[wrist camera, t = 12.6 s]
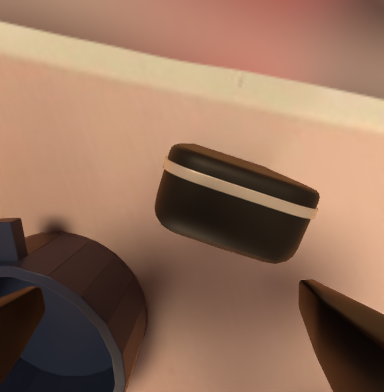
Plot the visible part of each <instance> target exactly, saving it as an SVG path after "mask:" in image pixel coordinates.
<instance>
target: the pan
mask: <svg viewBox="0 0 384 392" xmlns="http://www.w3.org/2000/svg"><path fill="white" fill-rule="evenodd" d="M36 286H37V287H40V288H41V289H42V293H43V298H44V302H45V313H44V315H43V317H42V319H41V321H40V322H39V324H38V326H37V328H36V330H35V331H34V333H33V335H32V337H31V338H30V340H29V342H28V344H27V345H26V347H25V349H24V351H23V352H22V354H21V356H20V357H19V359H18V360H17V362H16V363H15V365H14V366H13V368H12V369H11V371H10V372H9V373H8V375H7V376H6V378H5V379H4V381H3V382H2V384H1V385H0V392H126V390H127V387H128V383H129V380H130V377H131V374H132V371H133V368H134V365H135V362H136V359H137V356H138V353H139V350H140V347H141V344H142V340H143V336H144V333H145V329H146V322H147V309H146V303H145V299H144V295H143V292H142V289H141V287H140V285H139V283H138V281H137V279H136V278H135V276H134V274H133V273H132V271H131V270H130V269H129V268H128V266H127V265H126V264H125V263H124V262H123V261H122V260H121V259H120V258H119V257H118V256H117V255H116V254H114V253H113V252H112V251H110V250H109V249H108V248H106V247H105V246H103V245H101V244H99V243H98V242H96V241H93V240H91V239H89V238H86V237H83V236H79V235H76V234H71V233H65V232H46V233H39V234H35V235H31V236H28V237H26V238H25V237H24V232H23V227H22V221H21V218H4V219H0V297H3V296H5V295H8V294H11V293H13V292H16V291H18V290H21V289H23V288H26V287H36Z"/></svg>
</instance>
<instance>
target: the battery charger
mask: <svg viewBox="0 0 384 392" xmlns="http://www.w3.org/2000/svg"><path fill="white" fill-rule="evenodd" d="M163 168H164V172H163V176H162V179H161V182H160V186H159V189H158V192H157V197H156V203H155V213H156V216H157V218H158V219H159V221H160V223H161V224H162V225H163V226H164V227H166V228H167V229H169V230H170V231H172V232H174V233H177V234H180V235H182V236H185V237H188V238H191V239H194V240H197V241H200V242H203V243H206V244H209V245H212V246H215V247H218V248H221V249H224V250H227V251H230V252H234V253H237V254H240V255H243V256H246V257H249V258H252V259H256V260H259V261H262V262H268V263H274V264H276V263H281V262H285V261H287V260H289V259H290V258H291V257H292V256H293V255H294V253H295V252H296V250H297V249H298V247H299V244H300V242H301V240H302V238H303V235H304V233H305V231H306V229H307V227H308V224H309V222H310V220H311V219H314V218H315V216H316V213H317V211H318V208H317V207H316V206H317V204H318V201H319V198H320V197H319V193H318V192H317V191H316V190H314V189H312V188H310V187H308V186H306V185H304V184H302V183H299V182H297V181H295V180H293V179H290V178H288V177H286V176H284V175H281V174H279V173H277V172H274V171H272V170H270V169H268V168H265V167H263V166H260V165H257V164H254V163H251V162H248V161H245V160H242V159H239V158H236V157H233V156H230V155H227V154H224V153H221V152H217V151H214V150H211V149H208V148H205V147H202V146H199V145H196V144H176V145H174V146H173V147H171V150H170V152H169V155H168V156H166V158H165V162H164V165H163Z"/></svg>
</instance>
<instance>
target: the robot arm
mask: <svg viewBox="0 0 384 392" xmlns="http://www.w3.org/2000/svg"><path fill="white" fill-rule="evenodd" d="M298 303H299V309H300V312H301V315H302V318H303V321H304V323H305V326H306V329H307V332H308V335H309V338H310V340H311V343H312V346H313V349H314V351H315V354H316V356H317V358H318V361H319V363H320V365H321V367H322V369H323V371H324V373H325V375H326V377H327V380H328V382H329V384H330V386H331V388H332V390H333V392H384V314H382V313H380V312H378V311H376V310H374V309H372V308H369V307H367V306H365V305H363V304H361V303H359V302H357V301H355V300H353V299H351V298H349V297H347V296H345V295H343V294H341V293H339V292H337V291H335V290H333V289H331V288H329V287H327V286H325V285H323V284H321V283H319V282H317V281H315V280H300V282H299V301H298ZM44 313H45V302H44V298H43V293H42V289H41V288H40V287H37V286H36V287H26V288H23V289H21V290H18V291H16V292H13V293H11V294H8V295H5V296H3V297H0V385H1V384H2V382H3V381H4V379H5V378H6V376H7V375H8V373H9V372H10V371H11V369H12V368H13V366H14V365H15V363H16V362H17V360H18V359H19V357H20V356H21V354H22V352H23V351H24V349H25V347H26V345H27V344H28V342H29V340H30V338H31V337H32V335H33V333H34V331H35V330H36V328H37V326H38V324H39V322H40V321H41V319H42V317H43V315H44Z"/></svg>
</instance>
